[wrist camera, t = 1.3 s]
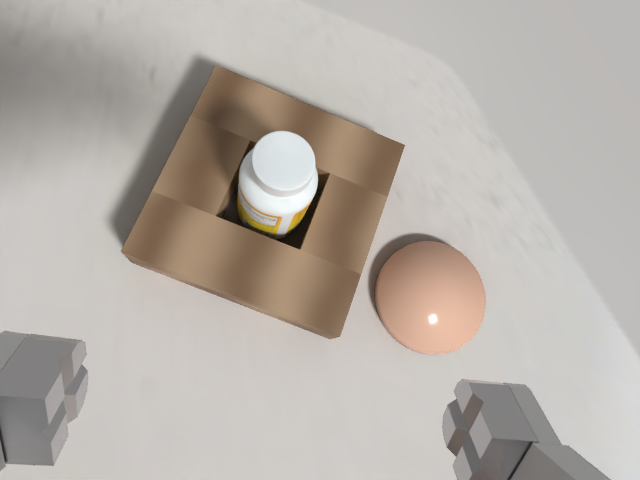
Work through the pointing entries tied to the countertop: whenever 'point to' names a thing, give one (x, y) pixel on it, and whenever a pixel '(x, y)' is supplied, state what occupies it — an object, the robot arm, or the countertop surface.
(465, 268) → the peach round disc
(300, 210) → the supplement bottle
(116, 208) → the countertop surface
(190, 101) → the countertop surface
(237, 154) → the frame
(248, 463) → the countertop surface
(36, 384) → the robot arm
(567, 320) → the countertop surface
